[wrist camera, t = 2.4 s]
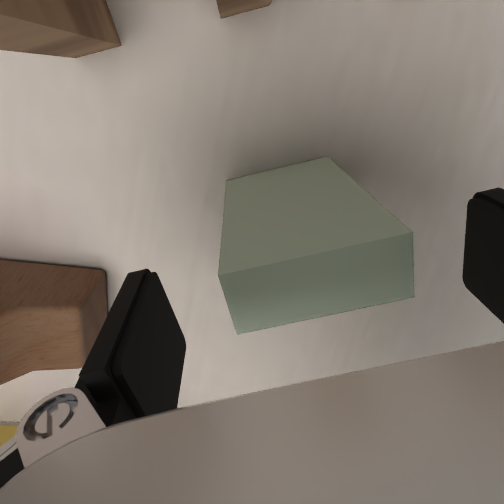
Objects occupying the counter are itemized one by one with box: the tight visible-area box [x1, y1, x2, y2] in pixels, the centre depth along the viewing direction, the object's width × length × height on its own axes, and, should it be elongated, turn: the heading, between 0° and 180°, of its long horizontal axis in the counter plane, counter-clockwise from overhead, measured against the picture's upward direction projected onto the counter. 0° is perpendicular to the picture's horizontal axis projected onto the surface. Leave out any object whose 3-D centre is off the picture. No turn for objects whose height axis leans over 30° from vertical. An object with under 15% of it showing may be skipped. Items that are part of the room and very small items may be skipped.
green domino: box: [218, 157, 414, 335], centre depth 16 cm, size 6×2×11 cm, turn 103°
